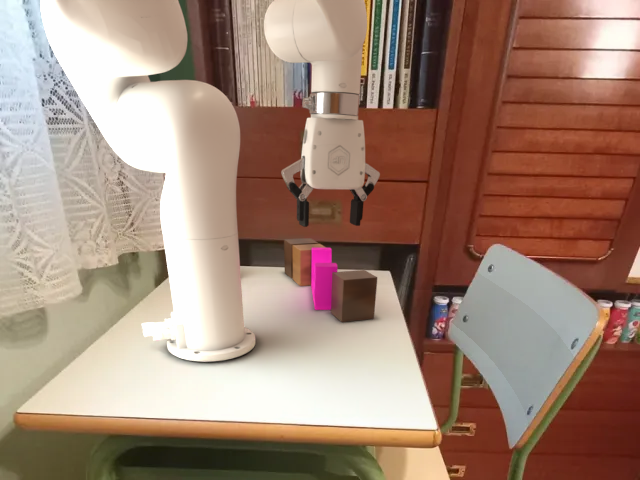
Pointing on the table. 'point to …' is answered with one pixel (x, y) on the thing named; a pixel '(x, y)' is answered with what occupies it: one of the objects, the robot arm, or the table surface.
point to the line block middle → (303, 263)
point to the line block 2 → (353, 295)
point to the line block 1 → (289, 252)
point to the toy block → (322, 277)
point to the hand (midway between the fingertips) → (329, 225)
